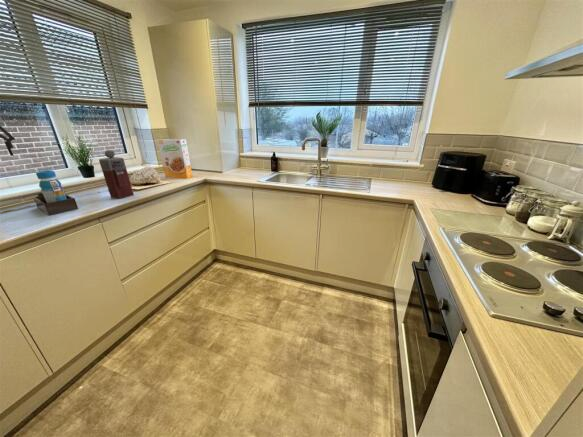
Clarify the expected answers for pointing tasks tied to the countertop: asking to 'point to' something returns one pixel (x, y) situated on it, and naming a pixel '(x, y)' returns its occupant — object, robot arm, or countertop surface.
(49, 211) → the caddy
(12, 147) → the robot arm
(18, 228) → the countertop surface
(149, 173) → the bread loaf on board
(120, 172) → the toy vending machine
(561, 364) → the countertop surface
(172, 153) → the cereal box
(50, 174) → the beverage bottle
